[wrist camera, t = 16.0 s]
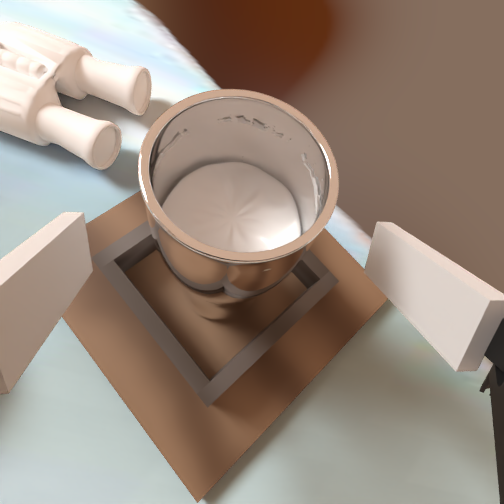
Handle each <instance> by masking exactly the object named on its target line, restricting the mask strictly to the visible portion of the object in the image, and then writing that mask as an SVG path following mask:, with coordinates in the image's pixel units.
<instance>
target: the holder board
mask: <svg viewBox="0 0 504 504" xmlns="http://www.w3.org/2000/svg"><path fill="white" fill-rule="evenodd" d="M86 230H87V237H88V243H89V249H90V256H91V262H92V268H93V271H92V273H91V274H90V276H89V277H88V279H87V280H86V282H85V283H84V285H83V286H82V288H81V289H80V290H79V292H78V293H77V295H76V296H75V298H74V299H73V301H72V302H71V304H70V305H69V307H68V308H67V309H66V311H65V312H64V314H63V315H62V317H63V319H64V320H65V321H66V323H67V324H68V326H69V327H70V328H71V330H72V331H73V332H74V334H75V335H76V337H77V338H78V339H79V341H80V342H81V343H82V345H83V346H84V348H85V349H86V350H87V352H88V353H89V354H90V356H91V357H92V359H93V360H94V361H95V363H96V364H97V365H98V367H99V368H100V370H101V371H102V372H103V374H104V375H105V376H106V378H107V379H108V381H109V382H110V383H111V385H112V386H113V387H114V389H115V390H116V392H117V393H118V394H119V396H120V397H121V398H122V400H123V401H124V403H125V404H126V405H127V407H128V408H129V409H130V411H131V412H132V414H133V415H134V416H135V418H136V419H137V420H138V422H139V423H140V425H141V426H142V427H143V429H144V430H145V431H146V433H147V434H148V436H149V437H150V438H151V440H152V441H153V442H154V444H155V445H156V447H157V448H158V449H159V451H160V452H161V453H162V455H163V456H164V458H165V459H166V460H167V462H168V463H169V464H170V466H171V467H172V469H173V470H174V471H175V473H176V474H177V475H178V477H179V478H180V480H181V481H182V482H183V484H184V485H185V486H186V488H187V489H188V490H189V492H190V493H191V495H192V496H193V497H194V499H195V500H196V501H197V503H198V502H199V501H200V500H201V499H202V498H203V497H204V495H205V494H206V493H207V492H208V491H209V490H210V489H211V488H212V487H213V486H214V485H215V484H216V483H217V482H218V480H219V479H220V478H221V477H222V476H223V475H224V474H225V473H226V472H227V471H228V470H229V469H230V468H231V467H232V465H233V464H234V463H235V462H236V461H237V460H238V459H239V458H240V457H241V456H242V455H243V454H244V453H245V451H246V450H247V449H248V448H249V447H250V446H251V445H252V444H253V443H254V442H255V441H256V440H257V439H258V438H259V436H260V435H261V434H262V433H263V432H264V431H265V430H266V429H267V428H268V427H269V426H270V425H271V424H272V423H273V421H274V420H275V419H276V418H277V417H278V416H279V415H280V414H281V413H282V412H283V411H284V410H285V409H286V408H287V406H288V405H289V404H290V403H291V402H292V401H293V400H294V399H295V398H296V397H297V396H298V395H299V394H300V393H301V391H302V390H303V389H304V388H305V387H306V386H307V385H308V384H309V383H310V382H311V381H312V380H313V379H314V378H315V376H316V375H317V374H318V373H319V372H320V371H321V370H322V369H323V368H324V367H325V366H326V365H327V364H328V363H329V361H330V360H331V359H332V358H333V357H334V356H335V355H336V354H337V353H338V352H339V351H340V350H341V349H342V347H343V346H344V345H345V344H346V343H347V342H348V341H349V340H350V339H351V338H352V337H353V336H354V335H355V334H356V332H357V331H358V330H359V329H360V328H361V327H362V326H363V325H364V324H365V323H366V322H367V321H368V320H369V319H370V317H371V316H372V315H373V314H374V313H375V312H376V311H377V310H378V309H379V308H380V307H381V306H382V305H383V304H384V302H385V301H386V300H387V299H388V298H387V297H386V296H385V295H384V294H383V292H382V291H381V290H380V289H379V288H378V287H377V286H376V285H375V284H374V283H373V282H372V281H371V280H370V279H369V277H368V276H367V275H366V274H365V273H364V269H363V268H362V266H361V265H360V264H359V263H358V262H357V261H356V260H355V259H354V258H353V257H352V256H351V255H350V254H349V253H348V252H347V251H346V250H345V249H344V248H343V247H342V246H341V245H340V244H339V243H338V242H337V241H336V240H335V239H334V237H333V236H332V235H331V234H330V233H329V232H328V231H327V230H326V229H325V228H323V230H322V231H321V232H320V233H319V234H318V236H317V237H316V239H315V241H314V242H313V244H312V246H311V247H310V249H309V250H308V252H307V253H306V255H305V256H304V257H303V259H302V260H301V261H300V263H299V264H298V265H297V266H296V268H295V269H294V270H293V271H292V272H291V274H290V275H289V276H288V277H287V278H286V279H284V280H283V281H282V282H281V283H280V284H279V285H278V286H276V287H275V288H274V289H272V290H271V291H270V292H268V293H266V294H264V295H262V296H260V297H258V298H256V299H255V301H254V303H253V304H252V306H251V307H250V308H249V309H248V310H247V311H245V312H244V313H243V314H241V315H239V316H237V317H235V318H232V319H228V320H212V319H208V318H205V317H203V316H201V315H199V314H197V313H196V312H195V311H193V310H192V309H191V308H190V306H189V305H188V304H187V303H186V301H185V299H184V297H183V295H182V291H181V286H180V284H179V283H178V282H177V281H176V280H175V279H174V277H173V276H172V275H171V274H170V272H169V271H168V270H167V268H166V266H165V265H164V263H163V261H162V259H161V257H160V255H159V253H158V251H157V249H156V246H155V243H154V240H153V237H152V234H151V231H150V227H149V223H148V218H147V214H146V208H145V202H144V199H143V196H142V193H141V191H139V192H137V193H136V194H134V195H132V196H131V197H129V198H128V199H126V200H124V201H123V202H121V203H119V204H118V205H116V206H115V207H113V208H111V209H110V210H108V211H107V212H105V213H103V214H102V215H100V216H98V217H97V218H95V219H94V220H92V221H90V222H89V223H87V224H86Z"/></svg>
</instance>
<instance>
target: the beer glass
mask: <svg viewBox="0 0 504 504" xmlns="http://www.w3.org/2000/svg"><path fill="white" fill-rule="evenodd" d="M138 180H139V185H140V190H141V193H142V196H143V199H144V202H145V208H146V214H147V218H148V223H149V227H150V231H151V234H152V237H153V240H154V243H155V246H156V249H157V251H158V253H159V255H160V257H161V259H162V261H163V263H164V265H165V266H166V268H167V270H168V271H169V272H170V274H171V275H172V276H173V277H174V279H175V280H176V281H177V282H178V283H179V284H180V286H181V291H182V295H183V297H184V299H185V301H186V303H187V304H188V305H189V306H190V308H191V309H192V310H193V311H195V312H196V313H197V314H199V315H201V316H203V317H205V318H208V319H212V320H228V319H232V318H235V317H237V316H239V315H241V314H243V313H244V312H245V311H247V310H248V309H249V308H250V307H251V306H252V304H253V303H254V301H255V299H256V298H258V297H260V296H262V295H264V294H266V293H268V292H270V291H271V290H272V289H274V288H275V287H276V286H278V285H279V284H280V283H281V282H282V281H283V280H284V279H286V278H287V277H288V276H289V275H290V274H291V272H292V271H293V270H294V269H295V268H296V266H297V265H298V264H299V263H300V261H301V260H302V259H303V257H304V256H305V255H306V253H307V252H308V250H309V249H310V247H311V246H312V244H313V242H314V241H315V239H316V237H317V236H318V234H319V233H320V232H321V231H322V230H323V228H324V227H325V226H326V224H327V223H328V221H329V219H330V217H331V215H332V213H333V211H334V208H335V205H336V202H337V197H338V191H339V177H338V169H337V165H336V161H335V158H334V155H333V153H332V150H331V148H330V146H329V144H328V143H327V141H326V139H325V138H324V136H323V135H322V133H321V132H320V131H319V130H318V128H316V126H315V125H314V124H313V123H312V122H311V121H310V120H309V119H308V118H307V117H306V116H304V115H303V114H302V113H301V112H299V111H298V110H296V109H295V108H293V107H292V106H290V105H288V104H286V103H285V102H283V101H281V100H278V99H276V98H273V97H271V96H268V95H265V94H262V93H258V92H253V91H248V90H238V89H221V90H212V91H207V92H203V93H199V94H196V95H193V96H190V97H188V98H186V99H184V100H182V101H180V102H178V103H176V104H175V105H173V106H172V107H170V108H169V109H168V110H166V111H165V112H164V113H163V114H162V115H161V116H160V117H159V118H158V119H157V120H156V121H155V122H154V124H153V125H152V126H151V128H150V129H149V131H148V132H147V134H146V136H145V138H144V141H143V143H142V146H141V149H140V153H139V159H138Z"/></svg>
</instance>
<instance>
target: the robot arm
mask: <svg viewBox="0 0 504 504" xmlns="http://www.w3.org/2000/svg"><path fill="white" fill-rule="evenodd" d="M92 271H93V268H92V262H91V256H90V249H89V243H88V237H87V230H86V224H85V218H84V213H80V212H63V213H62V214H60V215H59V216H58V217H56V218H55V219H54V220H52V221H51V222H50V223H48V224H47V225H46V226H44V227H43V228H42V229H41V230H39V231H38V232H37V233H35V234H34V235H33V236H31V237H30V238H29V239H27V240H26V241H25V242H23V243H22V244H21V245H19V246H18V247H17V248H15V249H14V250H13V251H11V252H10V253H9V254H7V255H6V256H5V257H3V258H2V259H1V260H0V394H6V393H10V391H11V390H12V388H13V387H14V385H15V384H16V382H17V381H18V379H19V378H20V377H21V375H22V374H23V372H24V371H25V369H26V368H27V366H28V365H29V363H30V362H31V360H32V359H33V358H34V356H35V355H36V353H37V352H38V350H39V349H40V347H41V346H42V344H43V343H44V342H45V340H46V339H47V337H48V336H49V334H50V333H51V331H52V330H53V328H54V327H55V325H56V324H57V323H58V321H59V320H60V318H61V317H62V315H63V314H64V312H65V311H66V309H67V308H68V307H69V305H70V304H71V302H72V301H73V299H74V298H75V296H76V295H77V293H78V292H79V290H80V289H81V288H82V286H83V285H84V283H85V282H86V280H87V279H88V277H89V276H90V274H91V273H92ZM364 273H365V274H366V275H367V276H368V277H369V279H370V280H371V281H372V282H373V283H374V284H375V285H376V286H377V287H378V288H379V289H380V290H381V291H382V292H383V294H384V295H385V296H386V297H387V298H388V299H389V300H390V301H391V302H392V303H393V304H394V305H395V306H396V308H397V309H398V310H399V311H400V312H401V313H402V314H403V315H404V316H405V317H406V318H407V319H408V320H409V322H410V323H411V324H412V325H413V326H414V327H415V328H416V329H417V330H418V331H419V332H420V333H421V334H422V336H423V337H424V338H425V339H426V340H427V341H428V342H429V343H430V344H431V345H432V346H433V347H434V348H435V349H436V351H437V352H438V353H439V354H440V355H441V356H442V357H443V358H444V359H445V360H446V361H447V362H448V363H449V365H450V366H451V367H452V368H453V369H454V370H455V371H456V372H460V371H477V369H478V368H479V366H480V364H481V362H482V360H483V358H484V356H486V357H487V358H488V359H489V360H490V361H491V362H492V363H493V366H492V367H491V369H490V371H489V373H488V375H487V377H486V379H485V380H484V382H483V384H482V386H481V388H480V392H483V393H484V391H485V389H487V388H490V396H491V405H492V416H493V427H494V439H495V450H496V461H497V472H498V484H499V495H500V504H504V294H503V293H501V292H499V291H498V290H496V289H495V288H493V287H491V286H490V285H488V284H487V283H485V282H484V281H482V280H480V279H479V278H478V277H476V276H475V275H473V274H471V273H470V272H468V271H467V270H465V269H464V268H462V267H460V266H459V265H457V264H456V263H454V262H453V261H451V260H450V259H448V258H446V257H445V256H443V255H442V254H440V253H439V252H437V251H436V250H434V249H432V248H431V247H429V246H428V245H426V244H425V243H423V242H422V241H420V240H418V239H417V238H415V237H413V236H412V235H411V234H409V233H407V232H406V231H404V230H403V229H401V228H400V227H398V226H396V225H395V224H393V223H392V222H377V223H376V227H375V231H374V235H373V239H372V243H371V246H370V250H369V254H368V258H367V262H366V266H365V269H364Z"/></svg>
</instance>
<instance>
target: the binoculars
mask: <svg viewBox="0 0 504 504" xmlns="http://www.w3.org/2000/svg"><path fill="white" fill-rule="evenodd" d="M151 87H152V84H151V76H150V73H149V71H148V70H147V69H146V68H144V67H141V66H131V67H129V66H124V65H120V64H115V63H110V62H104V61H100V60H98V59H96V58H94V57H93V56H92V54H91V53H90V51H88V50H87V49H86V48H84V47H81V46H79V45H78V44H76V43H73V42H71V41H68V40H65V39H63V38H60V37H58V36H55V35H52V34H50V33H47V32H44V31H42V30H39V29H37V28H34V27H31V26H28V25H27V26H26V25H24V24H21V23H17V22H1V23H0V131H2V132H5V133H8V134H10V135H13V136H16V137H18V138H21V139H24V140H26V141H29V142H32V143H34V144H37V145H40V146H47V145H49V144H50V143H55V144H58V145H60V146H62V147H63V148H65V149H66V150H68V151H70V152H71V153H73V154H75V155H77V156H78V157H80V158H82V159H84V160H85V161H86V162H87V163H88V164H89V165H90V166H91V167H93V168H95V169H98V170H105V169H107V168H109V167H110V166H111V165H112V164H113V162H114V161H115V159H116V158H117V156H118V154H119V151H120V148H121V143H122V135H121V131H120V129H119V127H118V126H117V125H115V124H114V123H112V122H110V121H104V120H97V119H94V118H91V117H88V116H85V115H83V114H80V113H77V112H75V111H72V110H69V109H67V108H64V107H62V105H61V102H60V99H59V97H58V94H57V92H59V93H62V94H64V95H67V96H70V97H72V98H75V99H78V100H82V99H83V98H84V97H86V95H87V94H90V95H93V96H95V97H98V98H101V99H103V100H106V101H109V102H111V103H113V104H116V105H118V106H121V107H123V108H125V109H127V110H128V111H129V112H131V113H133V114H135V115H139V116H141V115H143V114H144V113H145V111H146V109H147V107H148V105H149V102H150V97H151Z"/></svg>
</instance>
